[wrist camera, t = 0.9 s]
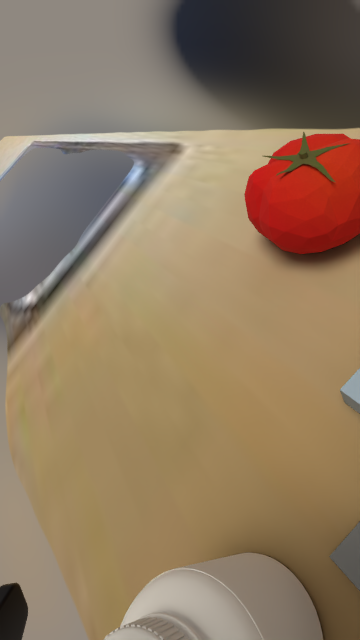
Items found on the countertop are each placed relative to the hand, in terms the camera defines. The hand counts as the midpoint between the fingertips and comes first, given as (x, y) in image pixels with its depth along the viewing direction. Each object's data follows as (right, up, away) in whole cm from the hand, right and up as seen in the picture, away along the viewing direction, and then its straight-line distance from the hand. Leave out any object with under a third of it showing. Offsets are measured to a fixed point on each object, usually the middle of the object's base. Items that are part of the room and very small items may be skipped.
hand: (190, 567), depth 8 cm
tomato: (+15, +16, +27) cm, 34 cm away
